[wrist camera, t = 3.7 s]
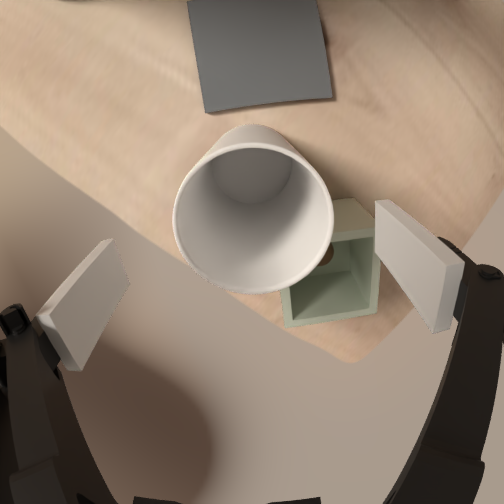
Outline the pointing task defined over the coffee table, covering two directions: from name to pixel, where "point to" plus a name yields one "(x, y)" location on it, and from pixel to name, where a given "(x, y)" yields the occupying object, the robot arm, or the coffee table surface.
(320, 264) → the walnut ball
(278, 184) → the cup
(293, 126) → the coffee table surface
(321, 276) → the planter
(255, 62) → the coaster
